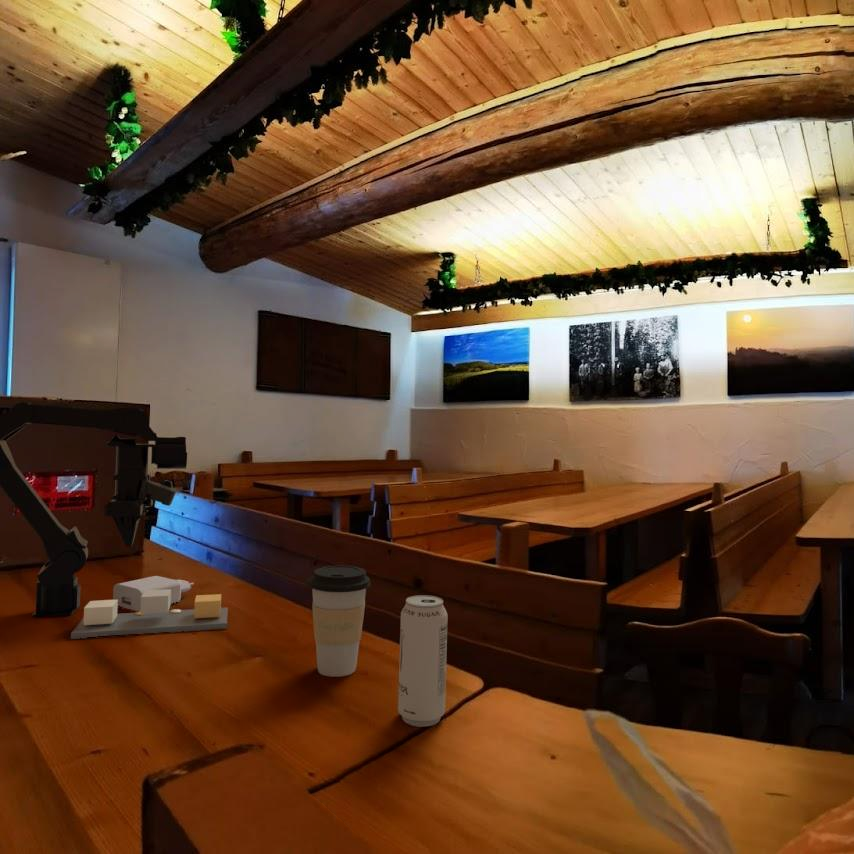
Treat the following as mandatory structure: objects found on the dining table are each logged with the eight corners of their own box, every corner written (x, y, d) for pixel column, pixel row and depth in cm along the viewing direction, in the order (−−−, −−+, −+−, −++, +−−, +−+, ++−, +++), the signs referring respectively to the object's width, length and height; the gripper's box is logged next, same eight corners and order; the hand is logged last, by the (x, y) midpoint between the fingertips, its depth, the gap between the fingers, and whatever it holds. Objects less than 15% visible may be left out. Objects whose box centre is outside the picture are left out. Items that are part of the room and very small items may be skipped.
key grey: (140, 613, 106) (141, 597, 106) (144, 606, 110) (144, 590, 111) (167, 612, 108) (168, 595, 108) (170, 605, 112) (171, 589, 112)
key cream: (83, 625, 103) (84, 608, 104) (89, 617, 108) (90, 600, 108) (112, 623, 105) (112, 606, 105) (117, 615, 109) (117, 599, 109)
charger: (204, 597, 128) (140, 614, 115) (177, 590, 133) (112, 606, 120) (205, 575, 128) (141, 590, 116) (177, 569, 133) (113, 582, 120)
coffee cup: (316, 686, 85) (319, 580, 85) (298, 662, 93) (301, 566, 93) (377, 675, 89) (380, 575, 89) (355, 654, 97) (357, 562, 98)
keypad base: (70, 639, 100) (71, 632, 100) (85, 621, 110) (85, 614, 110) (226, 628, 108) (226, 622, 108) (227, 612, 118) (227, 606, 118)
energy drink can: (399, 705, 79) (402, 593, 80) (444, 707, 79) (447, 594, 79) (395, 727, 73) (399, 606, 74) (444, 730, 73) (448, 608, 73)
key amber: (194, 618, 109) (194, 602, 109) (195, 611, 113) (196, 595, 113) (220, 616, 110) (220, 600, 110) (220, 609, 115) (221, 594, 115)
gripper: (169, 472, 114) (166, 553, 114) (178, 466, 132) (176, 537, 132) (104, 472, 111) (102, 556, 111) (123, 466, 129) (120, 538, 128)
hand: (129, 546), depth 120 cm, fingers closed
